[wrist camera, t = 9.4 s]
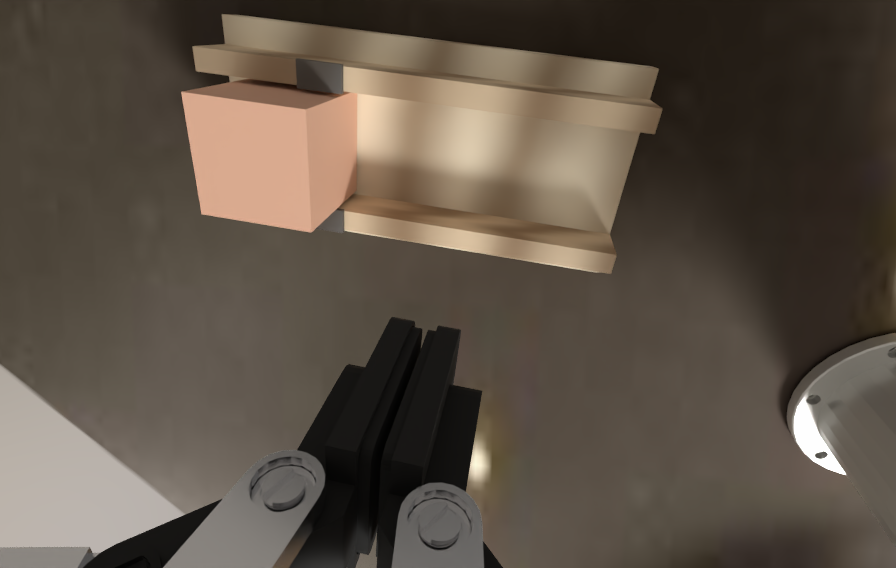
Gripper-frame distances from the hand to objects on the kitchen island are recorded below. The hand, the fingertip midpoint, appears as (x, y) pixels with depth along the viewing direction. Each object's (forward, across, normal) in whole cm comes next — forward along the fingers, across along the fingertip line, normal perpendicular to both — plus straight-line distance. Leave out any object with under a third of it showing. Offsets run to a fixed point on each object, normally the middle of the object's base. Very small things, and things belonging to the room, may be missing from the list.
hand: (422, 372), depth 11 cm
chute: (+21, +4, 0) cm, 21 cm away
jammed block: (+19, +11, 0) cm, 22 cm away
